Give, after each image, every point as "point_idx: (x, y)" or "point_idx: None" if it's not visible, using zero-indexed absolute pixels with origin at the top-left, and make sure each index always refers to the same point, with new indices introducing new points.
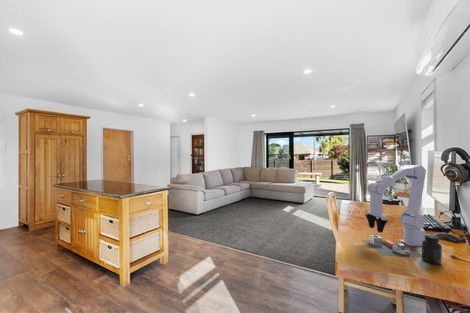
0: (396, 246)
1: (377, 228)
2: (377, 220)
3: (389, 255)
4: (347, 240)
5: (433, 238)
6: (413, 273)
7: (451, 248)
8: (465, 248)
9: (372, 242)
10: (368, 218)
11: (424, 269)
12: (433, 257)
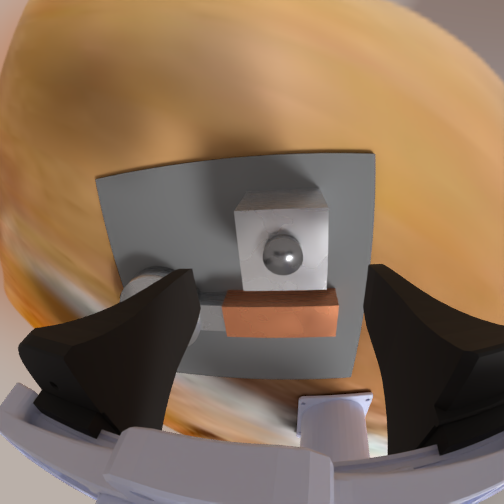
0: None
1: (165, 284)
2: (28, 335)
3: (106, 216)
4: (360, 38)
5: None
6: (9, 223)
7: None
8: None
9: (264, 194)
10: (427, 332)
11: (47, 282)
12: None
